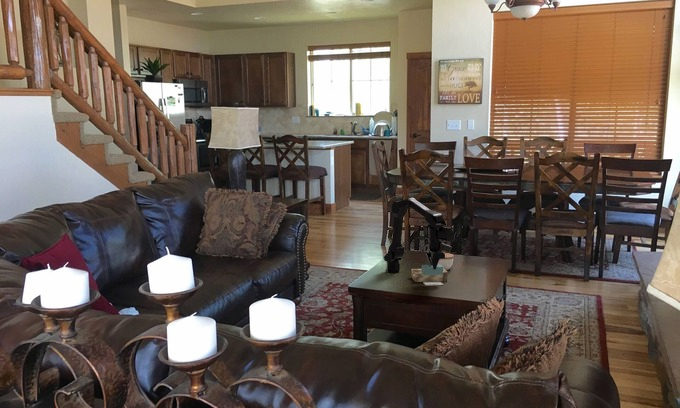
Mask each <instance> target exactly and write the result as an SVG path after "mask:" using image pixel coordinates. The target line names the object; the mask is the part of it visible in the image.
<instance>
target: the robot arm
mask: <svg viewBox="0 0 680 408" xmlns="http://www.w3.org/2000/svg"><path fill="white" fill-rule="evenodd" d="M408 208H411V209H412V210H414V211H415V212H416V213H418V214H419V215H421V216H422V217H423V218H424V220H425V221H426V223H427V225H426V226H425V228H426V229H428V238H427V242H428V244H425V245H424V246H423V251H424V252H425V254H426V257H427V259H428V260H427V261H428V262H429V265H432V266H433V269H436V268H437V265H438V262H439V260H440V259H445V254H444V253H443V252H445V253H449V254H451V249H452V248H453V247H452V246H451V245H450V244H448V242H449V243H450V242H452V241H453V240H454V238H455V232H454V230H453V227H450V226H449V227H448V224H447V223H446V221H445V218H444V215H443V214H442V212H441V213H440V212H438V211H436V210H431V209H429V208H428V207H427V206H425V205H424V204H422V203H421V202H420V201H418V200H416V198H415V197H408V198H406V199H405V198H404V199H403V200H397V201H393V202H392V204H391V214H392V215H393V225H392V237H391V243H390V245H389V246H388V250H387V253H386V254H385V255H384V256H383V261H384V262H386V266H385V267H386V268H385V271H386V273H387V274H396V273H397V274H400V269H401V263H400V261H402V258H403V256H404V255H405V246H403V244H402V236H403V235H402V234H403V224H404V217H405V216H406V214H407V212H408Z"/></svg>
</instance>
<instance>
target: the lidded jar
mask: <svg viewBox="0 0 680 408" xmlns="http://www.w3.org/2000/svg"><path fill="white" fill-rule="evenodd" d="M442 252H443V253H444V254H445V259H440V260H439V262H438V265H442V266H443V268H444V269H445V270H446V271H448V270H450V268H451V267H452V266H453V265H454V257H455V256H454V254H452V253H448V252H446V251H442Z"/></svg>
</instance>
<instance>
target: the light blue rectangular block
mask: <svg viewBox="0 0 680 408" xmlns="http://www.w3.org/2000/svg"><path fill="white" fill-rule="evenodd" d="M421 269H422V272H421V273H422V274H423V275H443V266H442V265H437V268H436V269H433V266H432V265H430V264H422V265H421Z"/></svg>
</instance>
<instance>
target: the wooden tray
mask: <svg viewBox="0 0 680 408" xmlns="http://www.w3.org/2000/svg"><path fill="white" fill-rule="evenodd" d="M421 272H422V268H411V276H410V278H411V279H412V280H413V281H414V282H415V283H421V282H422V283H423V282H448V275H449V271H448V270H445V269H444V268H443V275H423V274H422V273H421Z"/></svg>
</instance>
